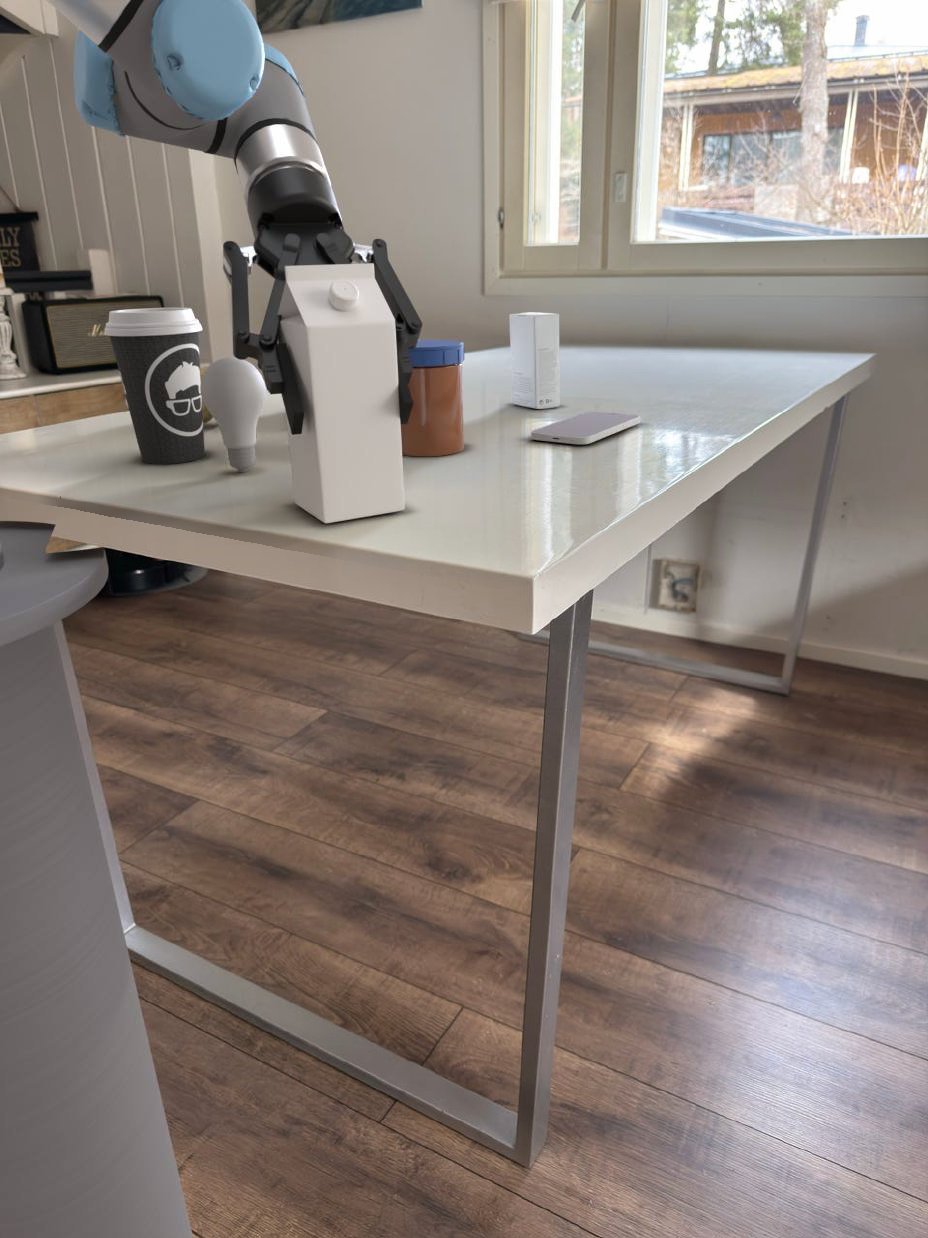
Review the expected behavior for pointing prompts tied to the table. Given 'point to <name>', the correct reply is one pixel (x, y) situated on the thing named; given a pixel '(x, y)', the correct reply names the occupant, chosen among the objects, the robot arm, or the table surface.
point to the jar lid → (436, 353)
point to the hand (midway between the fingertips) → (353, 418)
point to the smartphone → (585, 427)
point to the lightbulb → (235, 406)
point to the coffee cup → (161, 380)
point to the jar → (434, 412)
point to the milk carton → (343, 392)
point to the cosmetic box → (535, 359)
